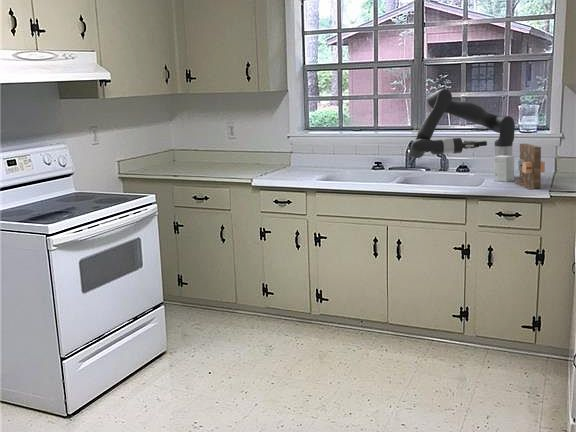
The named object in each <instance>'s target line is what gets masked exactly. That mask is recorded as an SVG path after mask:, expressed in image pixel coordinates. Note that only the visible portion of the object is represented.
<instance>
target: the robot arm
mask: <svg viewBox="0 0 576 432" xmlns="http://www.w3.org/2000/svg"><path fill="white" fill-rule="evenodd" d="M427 103H428V106H429V107H430V108H431V111H430V112H429V114H428V115H427V117H426V118H425V119H424V120H423V122H422V124H421V125H420V128H419V130H418V132H417V135H416V138H415V140H414V141H412V143H411V147H410V155H411V156H412V157H413V158H415V159H421V158H422V157H424V155H425V153H426V152H429V153H431V154H432V155H451V154H461V153H463V149H464V150H470V149H475V148H479V147H485V146H487V145H488V141H486V140H483V141H482V140H481V141H477V140H462V138H461V137H455V138H445V139H434V140H432V137H433V135H434V132H435V130H436V128H437V126H438V124H439V122H440V120H441V118H442V117H443V115H445V113H446V114H449V115H452V116H454V117H457V118H460V119H462V120H464V121H468V122H470V123H472V124H473V123H474V124H476V125H480V126H482V127H485V128H488V129H489V130H491V131H493V132H495V133H497V134H499V137H498V139H496V140H495V141H494V156H501V155H504V156H513V143H514V141H515V129H516V127H515V126H516V125H515V120H514V118H513V116H509V115H496V114H494V113H493V114H492V113H490V112H487V111H486V110H485V109H484V108H483V107H482V106H480V105H478V104H475V103H473V102H470V101H460V100H459V101H458V100H457V101H456V100H453V94H452V92H451V91H450V90H448V89H446V88H442V89H438V90H437V91H434V92H432V93H431V94H429V96H428V98H427Z"/></svg>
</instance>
